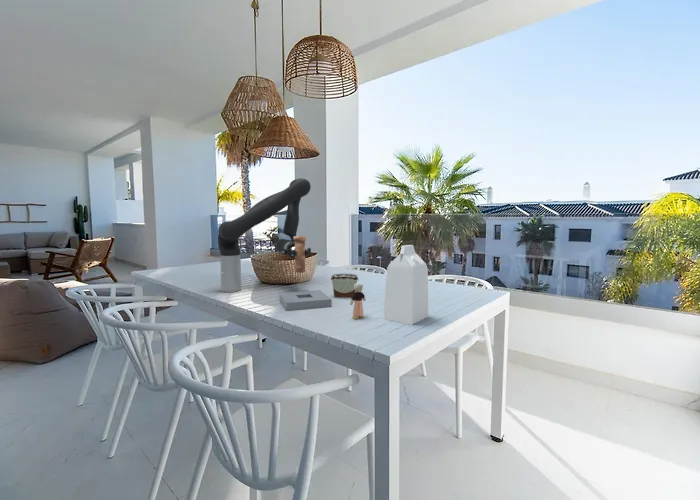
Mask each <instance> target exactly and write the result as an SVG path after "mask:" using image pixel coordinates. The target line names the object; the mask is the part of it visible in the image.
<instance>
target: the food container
mask: <svg viewBox="0 0 700 500" xmlns="http://www.w3.org/2000/svg"><path fill="white" fill-rule="evenodd" d="M330 280H331V282H332V283H331V284H332V290H333V291H332V292H333V298H334V299H335V298H336V299H352V297H353V295H354V293H355V292H356V291H355V289H354V285H355V284H356V283H358V282H359V277H358V275H357V274H354V273H335V274H332V275H331V277H330Z"/></svg>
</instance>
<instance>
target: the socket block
mask: <svg viewBox="0 0 700 500" xmlns="http://www.w3.org/2000/svg"><path fill="white" fill-rule="evenodd" d="M278 294H279V295H278V297H279V298H278V299H279V302H280V303H281V304H282V306H283V308H284V309H285V311H297V310H299V311H300V310H308V309H310V310H311V309H321V308H331V307H332V304H333V303H332V302H333V301H332V300H333V299H332V298H331V297H329V296H328V295H327V294H325V293H324V292H323V291H321V290H320V289H318V290H305V291H293V292H292V291H291V292H279V293H278Z"/></svg>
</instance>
